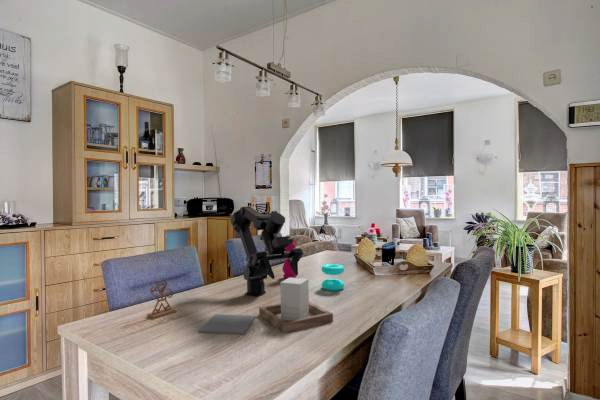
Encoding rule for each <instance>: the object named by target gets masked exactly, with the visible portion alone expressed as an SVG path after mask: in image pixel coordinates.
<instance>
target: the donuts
mask: <svg viewBox="0 0 600 400" xmlns="http://www.w3.org/2000/svg"><path fill="white" fill-rule="evenodd" d="M344 271H345V267H344V266H343V265H341V264H338V263H337V264H336V263H327V264H324V265H322V266H321V272H322V273H324V274H325V275H330V276H338V275H341V274H343V273H344ZM344 287H345V283H344V282H343V280H342V279H338V278H327V279H324V280H322V282H321V288H322V289H324V290H327V291H340V290H343V289H345V288H344Z"/></svg>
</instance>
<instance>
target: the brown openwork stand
mask: <svg viewBox="0 0 600 400" xmlns="http://www.w3.org/2000/svg"><path fill="white" fill-rule="evenodd" d="M162 281H163V282H162ZM160 282H162V283H160ZM155 286H156V287H155ZM155 286H151V287H150V290H149V291H150V294H151V296H153V297H156V303H155V306H154V308H153V310H152V312H150V313H147V315H146V318H147V319H150V320H156V319H159V318H162V317H165V316H166V317H167V316H168V315H171V314H175V313H177V309H176V308H173V307H171V305H170V303H169V301H168V300H167V298H169V299H170V298H172V297H173V296H174V294H173V290H171V288H168V287H167V286H168V283H167V281H166V280H164V279H160V280H158V281H157V283H156V285H155ZM161 286H162V287H161ZM166 290H168V291H169V293H166V292H165V291H166ZM154 292H157V293H159V295H155V294H154ZM160 295H161V296H160ZM163 295H164V297H163ZM163 301H165V303H166V304H167V305H166V306H165V305H164V303H163ZM159 303H160V305H159ZM158 305H159V307H158ZM157 307H158V308H157ZM161 308H163V309H161Z"/></svg>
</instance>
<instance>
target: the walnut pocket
mask: <svg viewBox="0 0 600 400" xmlns="http://www.w3.org/2000/svg"><path fill="white" fill-rule="evenodd" d="M258 308H259V311H258V315H259V316H260V317H261V318H263V319H265V320H266V321H267V322H269V323H270V324H271V325H273V326H274V327H275V328H276V329H278V330H279V331H280V332H281V333H283V334H284V333H288V332H293V331H297V330H301V329H305V328H308V327H309V328H310V327H315V326H318V325H323V324H327V323H332V322H334V314H333V312H330V311H328V310H327V309H324V308H323V307H320V306H318V305H316V304H315V303H313V302H311V301H309V313H311V314H313V315H311V316H310V315H309V316H308V317H306V318H301V319H296V320H292V321H286V320H282V319H281V317H279V316H278V315H276V314H279V313H281V303H277V304H271V305H265V306H261V307H260V306H259V307H258Z"/></svg>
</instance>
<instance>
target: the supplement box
mask: <svg viewBox="0 0 600 400" xmlns="http://www.w3.org/2000/svg"><path fill="white" fill-rule="evenodd" d="M279 283H280V304H281V312H280V318H281V319H282V320H284V321H285V322H287V321H292V320H296V319H301V318H306V317H310V311H309V302H310V300H309V298H310V295H309V293H310V292H309V290H310V289H309V278H300V277H299V278H297V277H296V278H288V279H284V280H282V281H281V282H279Z"/></svg>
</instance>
